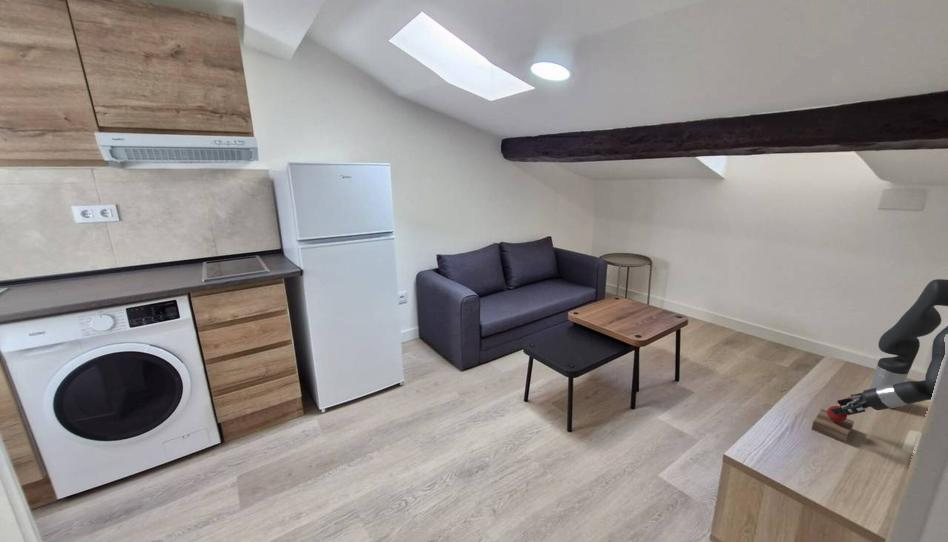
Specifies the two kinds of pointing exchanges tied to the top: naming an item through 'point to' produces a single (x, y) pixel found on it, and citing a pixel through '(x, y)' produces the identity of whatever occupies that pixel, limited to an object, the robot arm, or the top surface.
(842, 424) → the plinth
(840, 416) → the pomegranate
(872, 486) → the top surface
